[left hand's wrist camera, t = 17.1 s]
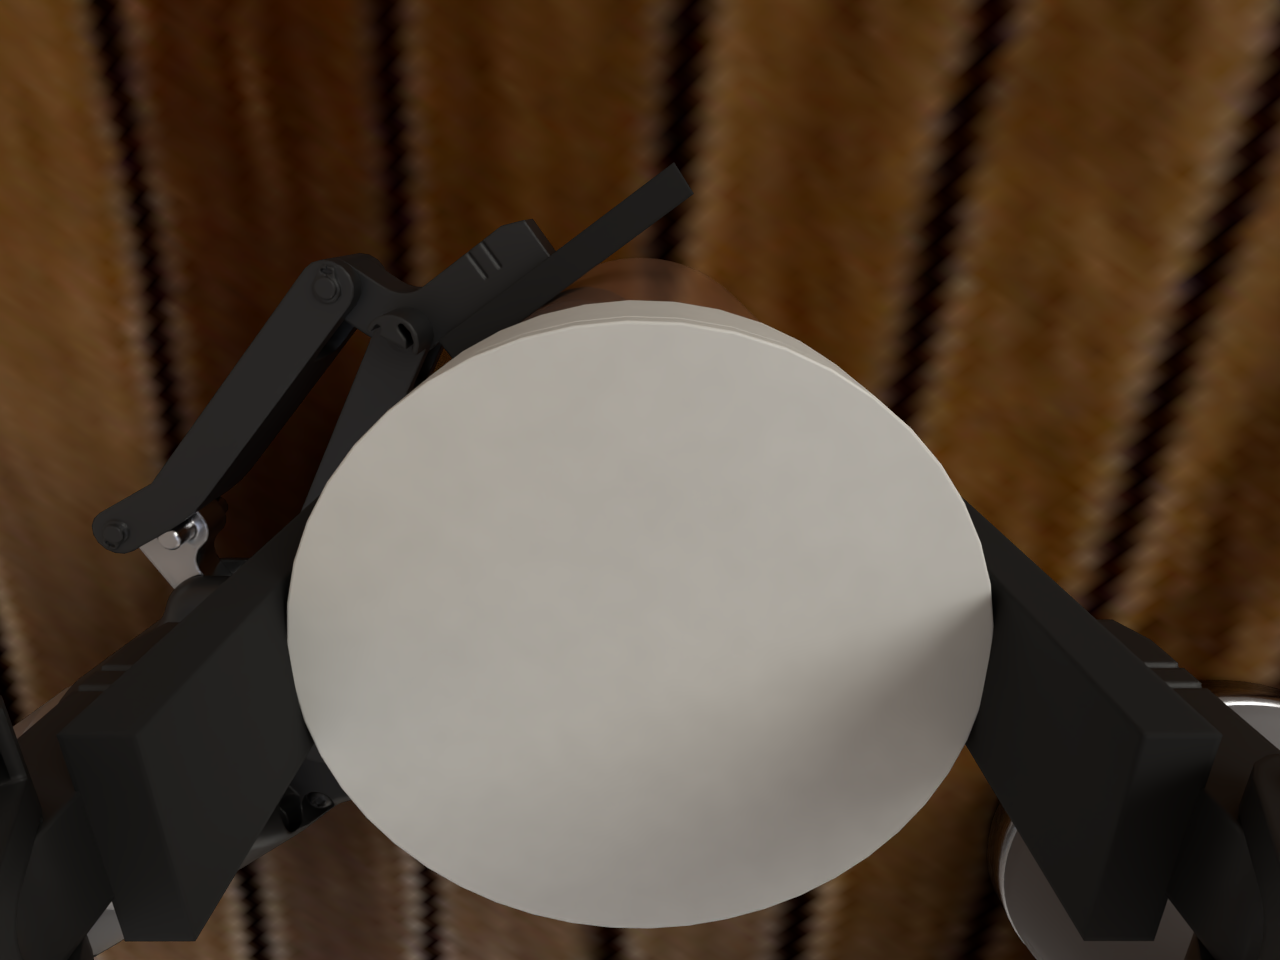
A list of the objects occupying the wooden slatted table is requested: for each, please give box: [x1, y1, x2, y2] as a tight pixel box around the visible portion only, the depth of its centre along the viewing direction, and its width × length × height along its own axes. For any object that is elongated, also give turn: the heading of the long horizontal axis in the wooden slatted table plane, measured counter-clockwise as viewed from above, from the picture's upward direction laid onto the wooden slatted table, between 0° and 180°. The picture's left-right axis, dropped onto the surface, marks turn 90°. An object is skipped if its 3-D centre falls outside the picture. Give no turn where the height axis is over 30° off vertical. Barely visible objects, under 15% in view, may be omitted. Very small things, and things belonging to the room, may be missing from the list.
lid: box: [287, 300, 994, 928], centre depth 11 cm, size 10×10×2 cm
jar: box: [518, 258, 760, 324], centre depth 18 cm, size 9×9×15 cm
